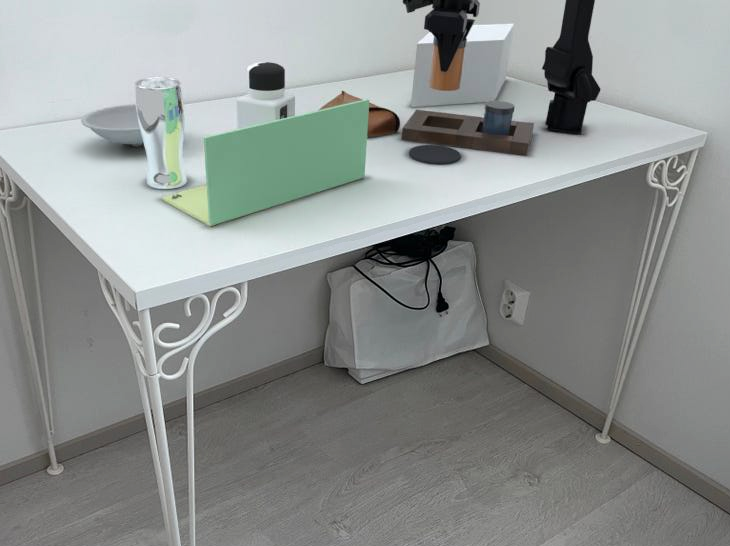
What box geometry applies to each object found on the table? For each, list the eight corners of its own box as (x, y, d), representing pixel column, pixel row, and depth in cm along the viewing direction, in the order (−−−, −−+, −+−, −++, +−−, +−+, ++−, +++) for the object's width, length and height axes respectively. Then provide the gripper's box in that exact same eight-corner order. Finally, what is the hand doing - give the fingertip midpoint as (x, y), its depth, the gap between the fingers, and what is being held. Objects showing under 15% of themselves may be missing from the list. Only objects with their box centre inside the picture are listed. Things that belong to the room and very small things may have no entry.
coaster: (464, 150, 133) (464, 148, 132) (456, 167, 125) (456, 164, 125) (414, 144, 135) (414, 142, 134) (403, 160, 128) (404, 158, 127)
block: (379, 98, 160) (383, 36, 153) (474, 73, 180) (482, 17, 173) (444, 116, 150) (452, 51, 143) (537, 87, 170) (548, 29, 163)
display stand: (211, 226, 103) (205, 138, 96) (162, 199, 110) (154, 115, 103) (364, 178, 120) (369, 99, 113) (313, 157, 127) (314, 82, 120)
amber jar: (462, 85, 132) (469, 36, 127) (457, 92, 127) (464, 42, 123) (431, 81, 133) (437, 33, 129) (425, 88, 129) (430, 39, 124)
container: (295, 137, 136) (296, 62, 129) (275, 149, 130) (275, 72, 123) (258, 131, 138) (256, 57, 131) (237, 142, 133) (234, 66, 125)
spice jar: (509, 138, 139) (516, 102, 136) (507, 146, 135) (513, 110, 132) (482, 134, 141) (487, 99, 137) (478, 142, 136) (483, 106, 133)
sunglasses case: (309, 112, 148) (324, 79, 146) (332, 125, 153) (347, 94, 151) (365, 137, 136) (382, 102, 134) (389, 150, 141) (406, 117, 139)
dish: (100, 165, 121) (96, 135, 118) (74, 140, 131) (69, 111, 128) (200, 149, 129) (198, 120, 126) (168, 126, 139) (166, 99, 136)
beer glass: (180, 192, 113) (171, 90, 104) (137, 188, 114) (125, 86, 105) (195, 176, 118) (189, 78, 110) (154, 172, 119) (144, 75, 111)
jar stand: (532, 134, 141) (534, 122, 140) (526, 155, 131) (529, 143, 130) (415, 120, 147) (416, 109, 145) (401, 139, 137) (402, 128, 135)
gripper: (421, -44, 129) (412, 52, 138) (397, -32, 114) (388, 74, 123) (486, -39, 126) (472, 58, 135) (469, -26, 111) (455, 82, 120)
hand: (446, 67), depth 128 cm, fingers closed on amber jar, 5 cm apart
